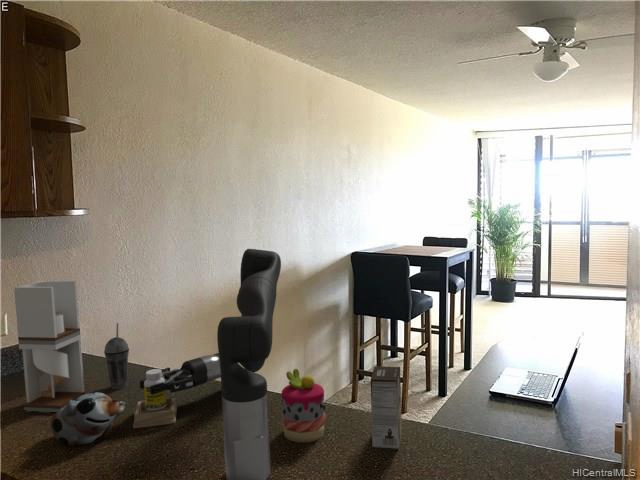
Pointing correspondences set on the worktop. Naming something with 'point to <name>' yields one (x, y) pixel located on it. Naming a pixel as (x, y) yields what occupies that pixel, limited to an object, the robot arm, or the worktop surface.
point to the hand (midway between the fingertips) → (145, 387)
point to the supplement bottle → (157, 399)
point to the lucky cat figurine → (85, 418)
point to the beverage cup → (117, 361)
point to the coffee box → (386, 407)
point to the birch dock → (155, 414)
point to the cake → (303, 409)
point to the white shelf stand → (50, 344)
